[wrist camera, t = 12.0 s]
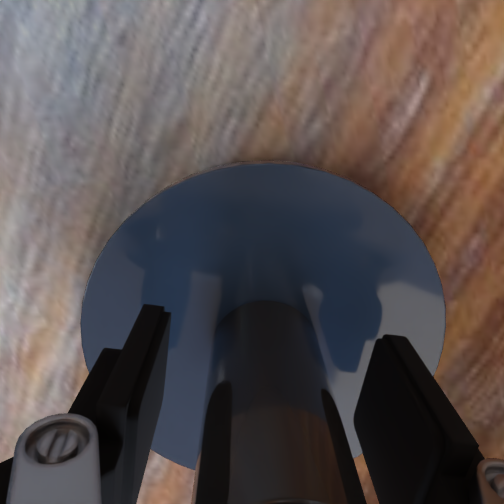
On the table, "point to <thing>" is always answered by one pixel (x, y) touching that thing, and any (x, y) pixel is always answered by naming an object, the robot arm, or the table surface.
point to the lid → (266, 322)
